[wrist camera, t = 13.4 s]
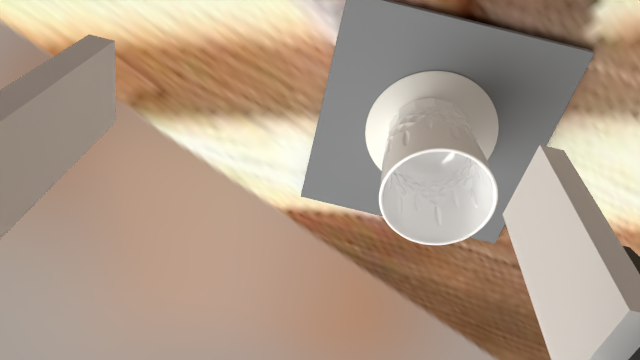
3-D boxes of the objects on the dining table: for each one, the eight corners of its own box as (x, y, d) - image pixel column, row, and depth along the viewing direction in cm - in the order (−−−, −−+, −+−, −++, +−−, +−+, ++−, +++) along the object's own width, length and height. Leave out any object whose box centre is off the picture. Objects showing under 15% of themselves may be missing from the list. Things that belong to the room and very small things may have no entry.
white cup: (361, 135, 43) (355, 200, 35) (429, 70, 40) (440, 125, 31) (426, 189, 45) (434, 262, 37) (496, 131, 42) (523, 199, 33)
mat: (302, 191, 48) (300, 197, 47) (348, -11, 38) (347, -8, 37) (493, 238, 48) (495, 244, 48) (591, 49, 38) (595, 53, 37)
